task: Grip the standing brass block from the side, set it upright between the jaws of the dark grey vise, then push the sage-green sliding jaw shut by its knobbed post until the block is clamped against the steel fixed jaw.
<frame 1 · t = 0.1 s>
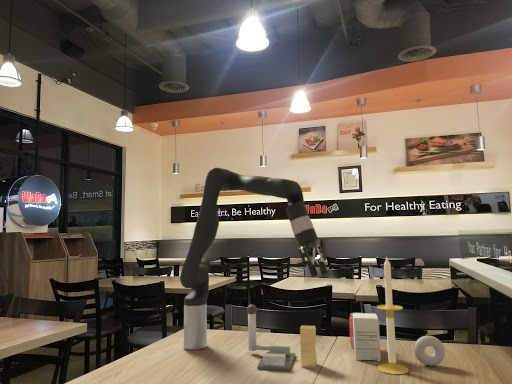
hand: (320, 275, 134), 31 cm above the table, tool tilted 20°, fingers open, 8 cm apart
supplement box: (367, 357, 144), on the table
sliding jaw: (267, 328, 150), point 10 cm above the table, slide at 5.0 cm
donut: (430, 366, 133), on the table
soda can: (359, 348, 156), on the table
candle: (392, 370, 131), on the table
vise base: (276, 363, 139), on the table
brass block: (309, 365, 136), on the table
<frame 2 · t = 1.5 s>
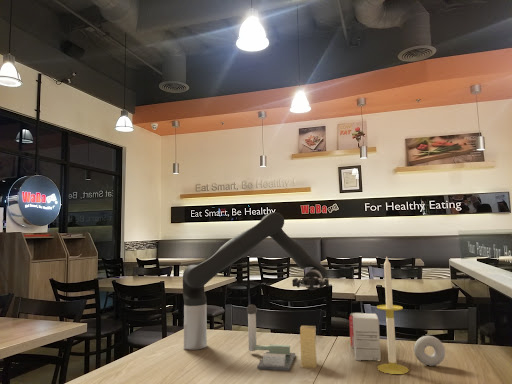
hand: (309, 284, 149), 26 cm above the table, tool horizontal, fingers open, 8 cm apart
nothing on the table moved.
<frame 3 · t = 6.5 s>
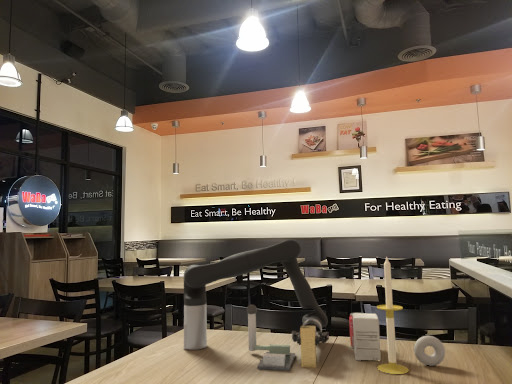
hand: (307, 342, 134), 9 cm above the table, tool horizontal, fingers closed on brass block, 5 cm apart
brass block: (309, 365, 136), on the table, touching gripper
everything else where it was.
when the fingers open (10 cm above the table, at t = 10.5 s): brass block stays where it is, resting on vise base.
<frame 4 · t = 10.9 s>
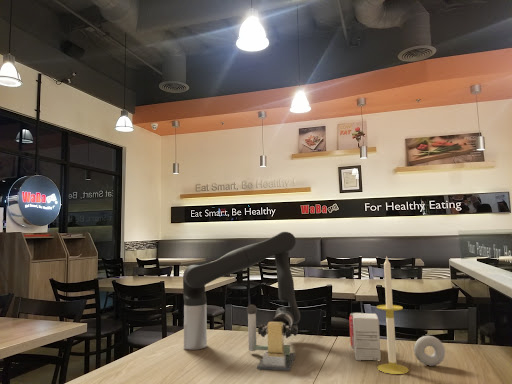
hand: (274, 334, 138), 11 cm above the table, tool horizontal, fingers open, 8 cm apart
brass block: (276, 360, 139), point 1 cm above the table, touching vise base
everything else where it was.
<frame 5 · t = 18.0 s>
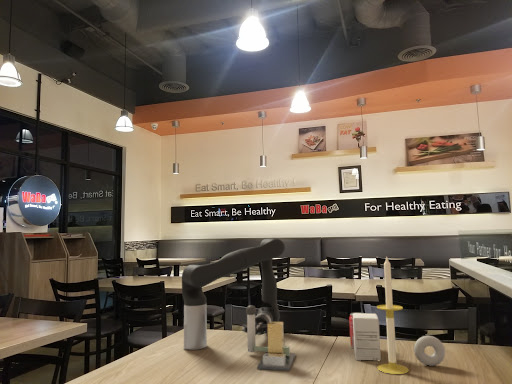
hand: (252, 333, 152), 8 cm above the table, tool horizontal, fingers closed
sliding jaw: (267, 329, 148), point 10 cm above the table, slide at 3.5 cm, touching gripper
everything else where it was.
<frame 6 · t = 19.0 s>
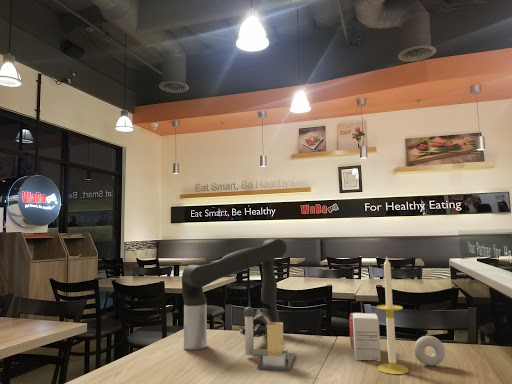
hand: (250, 335, 148), 8 cm above the table, tool horizontal, fingers closed
sliding jaw: (265, 331, 145), point 10 cm above the table, slide at 0.0 cm, touching brass block, gripper
brass block: (276, 361, 138), point 1 cm above the table, touching sliding jaw, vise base
everything else where it was.
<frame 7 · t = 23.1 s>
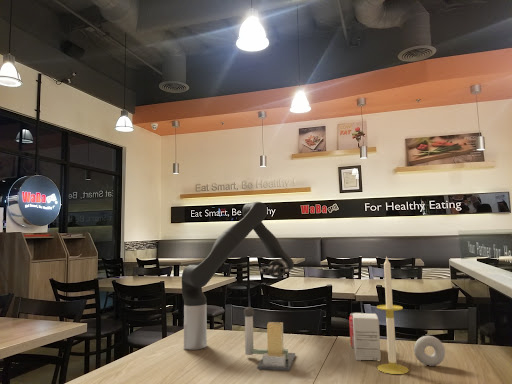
hand: (270, 272, 162), 30 cm above the table, tool horizontal, fingers closed
sliding jaw: (265, 331, 145), point 10 cm above the table, slide at 0.0 cm
brass block: (276, 361, 138), point 1 cm above the table, touching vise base
everything else where it was.
at the end: sliding jaw slide at 0.0 cm; brass block 0.6 cm from the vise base (horizontally); brass block tilted 0° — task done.
